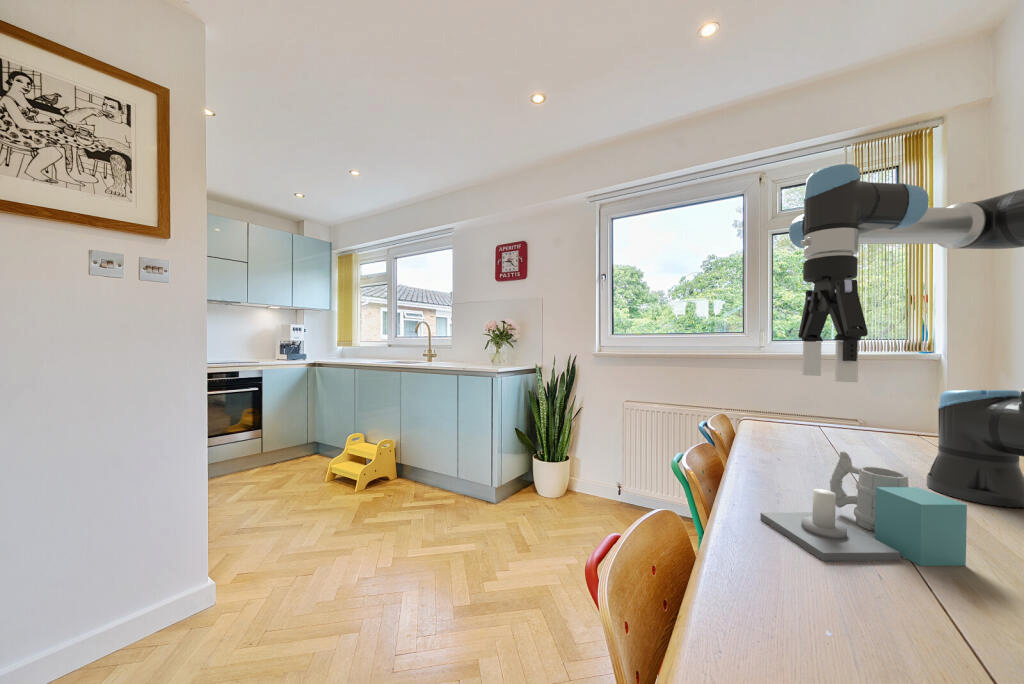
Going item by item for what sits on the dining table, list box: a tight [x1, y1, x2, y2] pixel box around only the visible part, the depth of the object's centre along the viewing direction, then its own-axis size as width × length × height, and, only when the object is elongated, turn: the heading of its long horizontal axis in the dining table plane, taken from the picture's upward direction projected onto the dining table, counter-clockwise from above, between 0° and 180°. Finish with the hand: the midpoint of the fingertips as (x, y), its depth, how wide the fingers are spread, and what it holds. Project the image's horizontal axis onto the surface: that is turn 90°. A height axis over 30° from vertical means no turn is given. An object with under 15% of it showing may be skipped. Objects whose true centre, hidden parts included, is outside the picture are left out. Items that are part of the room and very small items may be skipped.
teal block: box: [874, 486, 968, 567], centre depth 62 cm, size 7×7×9 cm
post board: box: [760, 488, 901, 562], centre depth 67 cm, size 12×14×8 cm
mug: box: [829, 450, 909, 532], centre depth 73 cm, size 8×12×12 cm, turn 28°
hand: (827, 378), depth 71 cm, fingers open, 13 cm apart
